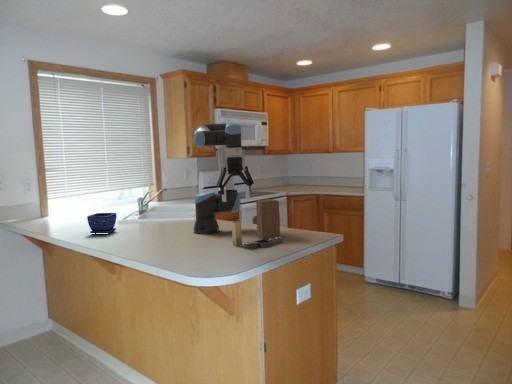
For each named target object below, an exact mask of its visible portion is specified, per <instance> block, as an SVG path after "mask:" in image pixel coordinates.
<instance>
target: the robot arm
mask: <svg viewBox="0 0 512 384" xmlns="http://www.w3.org/2000/svg"><path fill="white" fill-rule="evenodd" d="M193 135H194V145H195V146H196V147H207V146H208V147H210V146H211V147H212V146H214V147H215V148H216V149H217V157H218V158H217V159H218V172H219V173H218V174H219V175H218V176H219V178H218V180H217V183H216V185H215V186H216V187H217V188H218V190H217V193H215V191H205V192H201V193H198V194H195V198H194V204H195V205H194V207H195V221H194V227H193V233H194V234H198V235H199V234H200V235H208V234H209V235H210V234H215V233H218V232H219V231H220V227H219V224H218V221H217V217H216V214H225V213H227V214H230V213H237V212H238V211H239V210H240V205H241V193H240V192H238V189H237V188H236V187H235V177H236V176H237V177H239V178H240V179H241V180H242V181H243V183H244V184H245V185H244V187H245V188H244V189H245V192H244V193H245V195H244V196H245V200H246V199H247V200H249V199H250V198H251V196H250V195H251V194H250V193H251V191H252V190H251V186H253V185H254V183H255V182H254V180H253V178H252V175H251V173H250V171H249V167H248V166H247V165H243V157H242V155H243V149H242V127H241V125H240V124H235V123H234V124H233V123H226V122H223V123H205V124H202V125H200V126H199V125H198V126H197V127H196V129H194V134H193Z"/></svg>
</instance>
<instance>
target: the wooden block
mask: <svg viewBox="0 0 512 384" xmlns="http://www.w3.org/2000/svg"><path fill="white" fill-rule="evenodd" d="M255 203H256V204H255V205H256V206H255V207H256V228H257V229H256V233H257V237H258V238H260V239H261V240H262V239H266V240H267V239H269V238H275V237H281V227H280V226H281V225H280V224H281V223H280V221H281V219H280V201H279V200H278V199H274V198H266V199H265V198H264V199H256V200H255Z"/></svg>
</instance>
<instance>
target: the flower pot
mask: <svg viewBox="0 0 512 384" xmlns="http://www.w3.org/2000/svg"><path fill="white" fill-rule="evenodd" d="M86 218H87V223H88V226H89V228H90V230H91V231H90V232H89V233H90V234H91V233H95V234H96V233H109V234H111V233H110V232H112V231H114V232H115V231H116V230H117V227H115V226H116V221H117V213H116V212H97V213H93V214H90V215H87V216H86ZM112 233H113V232H112Z"/></svg>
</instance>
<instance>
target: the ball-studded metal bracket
mask: <svg viewBox="0 0 512 384" xmlns="http://www.w3.org/2000/svg"><path fill="white" fill-rule="evenodd" d="M283 243H284V238H281V236H280V237H275V238H269V239H262V238H261V239H258V240H252V241H249V242H245V243H243V246H244V249H246V250H253V249H258V248H260V249H263V248H268V247H273V246H274V245H277V244H283Z"/></svg>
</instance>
